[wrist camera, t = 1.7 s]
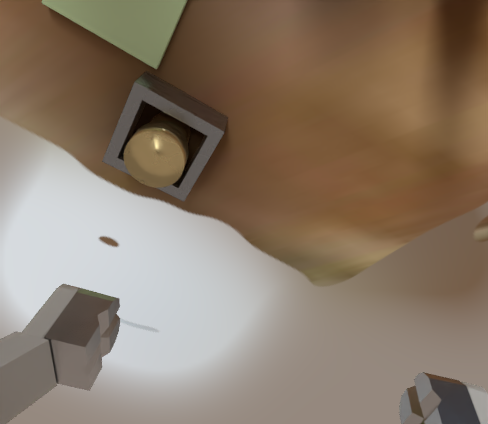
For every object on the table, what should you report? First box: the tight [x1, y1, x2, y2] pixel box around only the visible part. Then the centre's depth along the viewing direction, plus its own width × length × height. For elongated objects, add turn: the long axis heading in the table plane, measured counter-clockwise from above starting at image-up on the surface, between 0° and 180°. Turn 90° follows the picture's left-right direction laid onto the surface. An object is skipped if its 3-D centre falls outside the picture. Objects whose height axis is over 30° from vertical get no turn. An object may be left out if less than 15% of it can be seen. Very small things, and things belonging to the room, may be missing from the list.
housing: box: [102, 71, 228, 201], centre depth 42 cm, size 10×10×4 cm
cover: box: [124, 112, 190, 188], centre depth 41 cm, size 6×6×8 cm
